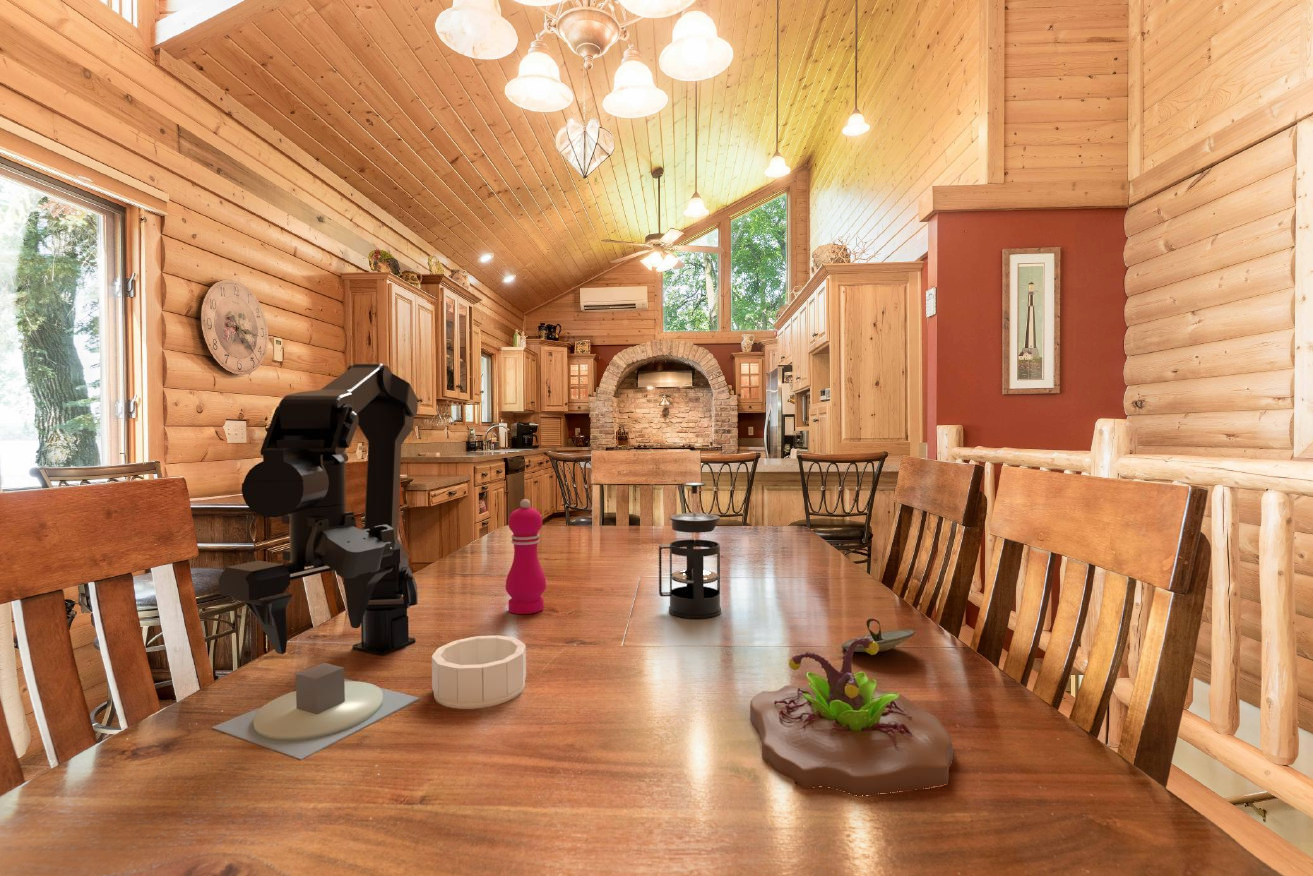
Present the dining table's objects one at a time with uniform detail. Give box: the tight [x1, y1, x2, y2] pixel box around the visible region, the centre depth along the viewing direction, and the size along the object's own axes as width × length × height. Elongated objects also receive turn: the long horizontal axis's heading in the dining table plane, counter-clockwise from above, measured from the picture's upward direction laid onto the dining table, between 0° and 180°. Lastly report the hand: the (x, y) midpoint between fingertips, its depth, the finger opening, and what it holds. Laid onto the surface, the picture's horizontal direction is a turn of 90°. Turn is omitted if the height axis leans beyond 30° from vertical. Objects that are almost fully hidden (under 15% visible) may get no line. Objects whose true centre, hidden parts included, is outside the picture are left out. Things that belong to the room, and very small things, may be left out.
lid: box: [840, 618, 916, 653], centre depth 89 cm, size 11×10×5 cm
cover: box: [253, 662, 383, 741], centre depth 71 cm, size 13×13×5 cm
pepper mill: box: [505, 498, 547, 615], centre depth 111 cm, size 7×7×20 cm
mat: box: [211, 678, 421, 761], centre depth 71 cm, size 15×15×1 cm
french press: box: [658, 481, 722, 620], centre depth 110 cm, size 12×9×23 cm
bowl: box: [431, 634, 527, 710], centre depth 77 cm, size 11×11×5 cm
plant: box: [749, 636, 954, 797], centre depth 64 cm, size 20×20×11 cm
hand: (320, 639), depth 71 cm, fingers open, 9 cm apart
